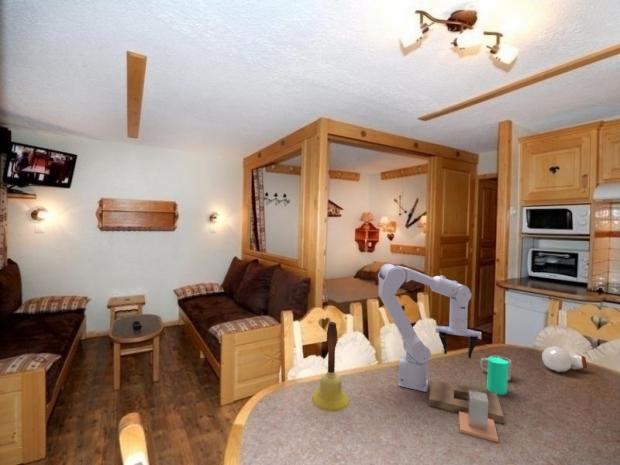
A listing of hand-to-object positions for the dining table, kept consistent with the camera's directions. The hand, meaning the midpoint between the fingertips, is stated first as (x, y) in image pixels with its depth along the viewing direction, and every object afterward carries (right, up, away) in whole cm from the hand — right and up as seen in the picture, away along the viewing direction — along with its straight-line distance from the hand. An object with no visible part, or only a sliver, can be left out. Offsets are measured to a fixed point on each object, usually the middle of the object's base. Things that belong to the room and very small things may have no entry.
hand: (457, 355), depth 110 cm
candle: (+12, -11, -3) cm, 17 cm away
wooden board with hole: (-4, -11, -11) cm, 16 cm away
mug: (+18, -11, +7) cm, 22 cm away
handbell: (-46, -10, -11) cm, 48 cm away
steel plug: (-5, -10, -23) cm, 26 cm away
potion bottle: (+48, -11, +13) cm, 51 cm away
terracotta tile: (-6, -11, -23) cm, 26 cm away
